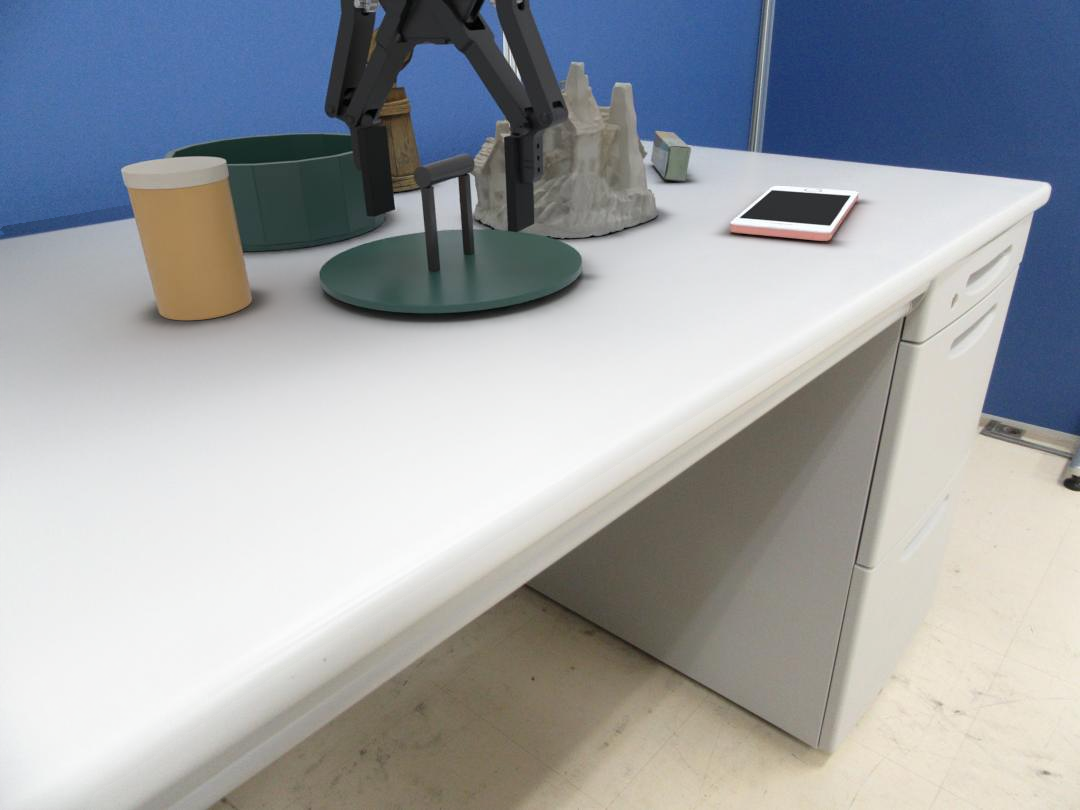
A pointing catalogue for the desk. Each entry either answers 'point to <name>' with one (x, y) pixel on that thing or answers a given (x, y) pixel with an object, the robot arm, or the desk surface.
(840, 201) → the cell phone
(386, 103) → the wooden mug
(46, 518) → the desk surface
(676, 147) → the medication box
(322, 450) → the desk surface
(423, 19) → the robot arm
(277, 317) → the desk surface
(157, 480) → the desk surface
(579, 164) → the ceramic cottage
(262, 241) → the pot
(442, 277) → the lid
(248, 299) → the tan canister with cap
